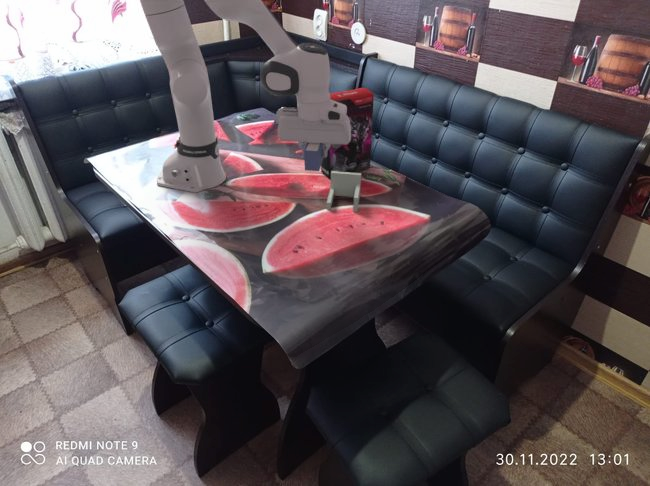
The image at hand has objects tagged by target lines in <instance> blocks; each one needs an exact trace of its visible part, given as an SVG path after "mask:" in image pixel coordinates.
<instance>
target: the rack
mask: <svg viewBox="0 0 650 486" xmlns="http://www.w3.org/2000/svg"><path fill="white" fill-rule="evenodd" d="M361 185H362V173H361V172H353V173H351V172H338V171H331V179H330V188H329V189H330V190H329V193H328V196H327V199H326V210H327V209H328V210H327V211H331V209H332V205H333V202H334V198H335V197H336V196H338V197H348V198H353V205H352V206H353V209H352V212H353V213H358V209H359V208H358V207H359V203H360V198H361Z"/></svg>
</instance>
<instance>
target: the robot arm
mask: <svg viewBox="0 0 650 486" xmlns="http://www.w3.org/2000/svg"><path fill="white" fill-rule="evenodd" d="M139 1H140V4H141V8H142V12H143V14H144V16H145V18H146V21H147V24H148V26H149V29H150V32H151V34H152V37H153V40H154V43H155V45H156V46H157V49H158V50H159V52H160V55H161V57H162V59H163V61H164V63H165V66H166V68H167V70H168V75H169V87H170V92H171V93H170V94H171V98H172V102H173V108H174V112H175V116H176V122H177V127H178V132H179V137H178V139H176V141H175V143H174V145H173V148H174V149H176V150H175V151H174V152H173V153H171V154H170V155H169V156H168V157H167V158H166V159H165V161H163V165H162V170H161V172H160V173H159V174H158V176H157V177H156V184H157V185H158V186H160V187H167V188H169V189H170V188H171V189H176V190H180V191H185V192H189V193H190V192H191V193H199V192H201V191H203V190H207V189H212V188H215V187H217V186H219V185H221V184H223V182H225V181H226V179H227V175H226V173H225V170H224V169H223V166H222V162H221V158H220V144H219V140H218V136H217V135H216V126H215V121H214V118H215V117H214V111H213V109H214V108H213V104H212V103H213V102H212V101H213V100H212V93H211V85H210V80H209V74H208V69H207V66H206V63H205V60H204V57H203V54H202V52H201V48H200V46H199V42H198V40H197V37H196V35H195V32H194V29H193V26H192V23H191V20H190V17H189V14H188V11H187V8H186V5H185V2H184V0H139ZM203 1H204V2H205V4H206V5H207V7H209V9H210V10H211V11H212V12H213V13H214V14H215V15H216V16H217V17H218V18H220V19H222V20H225V21H228V22H236V23H240V24H244V25H247V26H248V27H250V28H252V29H253V30H254V31H255V32H256V33H257V34H258V36H260V38H261V39H262V41H263V42H264V43H265V44H266V46H267V47H268V48H269V49H270V51H271V52H272V53H273V55H274V56H273V57H271V58H270V59H268V60H267V61H266V62H264V64H263V65H262V67H260V72H259V78H260V81H261V85H262V86H263V88H264V89H265V90H266V92H268V93H269V94H270V95H273V96H275V97H288V96H294V95H295V96H296V102H297V103H296V105H297V106H296V107H286V106H282V107H281V108H279V109H278V110H277V111H276V114H275V115H276V121H277V122H278V124H277V125H278V127H277V138H278V140H280V141H281V142H294V143H297V146H298V147H299V148H300V150H301V151H302V156H303V157H304V150H305V147H306V145H305V144H304V143H308V142H309V143H325V146H326V149H322V151H321V154H322V155H321V157H327V151H328V150H329V148H330V146H331V144H344V145H347V144H348V143H349V142H350V140H351V125H350V120H349V117H348V116H347V115H346V114H347V106H346V105H344V104H342V103H339V102H336V101H333V100H331V99H330V94H331V93H330V90H329V89H330V84H331V67H330V66H331V65H330V64H331V63H330V58H329V55H328V52H327V49H326V48H324V47H323V46H322V45H320V44H317V43H313V42H303V43H298V42H296V41H295V40H294V39H293V38H292V37H291V35H289V32H287V30H286V29H285V27H284V26H283V25H282V23H280V21H279V20H278V18H277V16H275V15H274V13H273V12H272V10H271V9H270V8H269V7H268V6H267V4H266V3H265V2H264V1H263V0H203Z"/></svg>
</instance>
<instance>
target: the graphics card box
mask: <svg viewBox="0 0 650 486" xmlns="http://www.w3.org/2000/svg"><path fill="white" fill-rule="evenodd" d="M374 97H375V94H374V93H373V91H371V90H369V88H368V89H367V88H365V87H364V86H363V87H359V88H355V89H349V90H343V91H337V92H332V93H330V99H331V100H333V101H336V102H339V103H342V104H344V105H346V106H347V114H346V115H347V116H348V117H349V120H350V125H351V140H350V142H349V143H348V144H347V145H344V144H331V146H330V148H329V150H328V151H327V157H324V158H323V161H322V164H321V167H320V170H321V171H320V172H321V174H323V175H325V176H326V177H327V178H328V179H329V180H331V171H338V172H351V173H358V172H360V171H364V170H367V169H371V162H372V161H371V157H372V136H373V134H372V133H373V117H374V116H373V113H374V100H375V98H374ZM324 149H326V146H325V143H324Z"/></svg>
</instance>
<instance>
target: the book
mask: <svg viewBox="0 0 650 486" xmlns="http://www.w3.org/2000/svg"><path fill="white" fill-rule="evenodd" d="M322 149H324V143H309V142H306V145H305V150H304V156H303V157H304V171H309V172H320V170H321V164H322V161H323V158H324V157H321V155H322V154H321V151H322Z"/></svg>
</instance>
